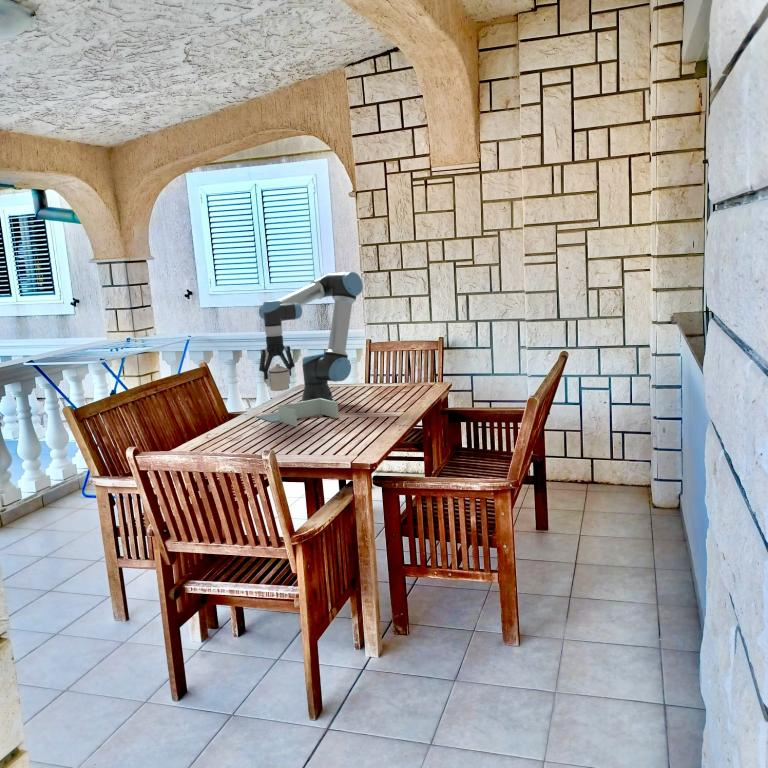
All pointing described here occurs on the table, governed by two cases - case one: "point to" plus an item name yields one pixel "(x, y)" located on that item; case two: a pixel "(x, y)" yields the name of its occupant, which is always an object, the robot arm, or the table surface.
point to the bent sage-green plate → (307, 410)
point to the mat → (270, 417)
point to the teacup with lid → (278, 378)
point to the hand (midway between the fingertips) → (278, 384)
